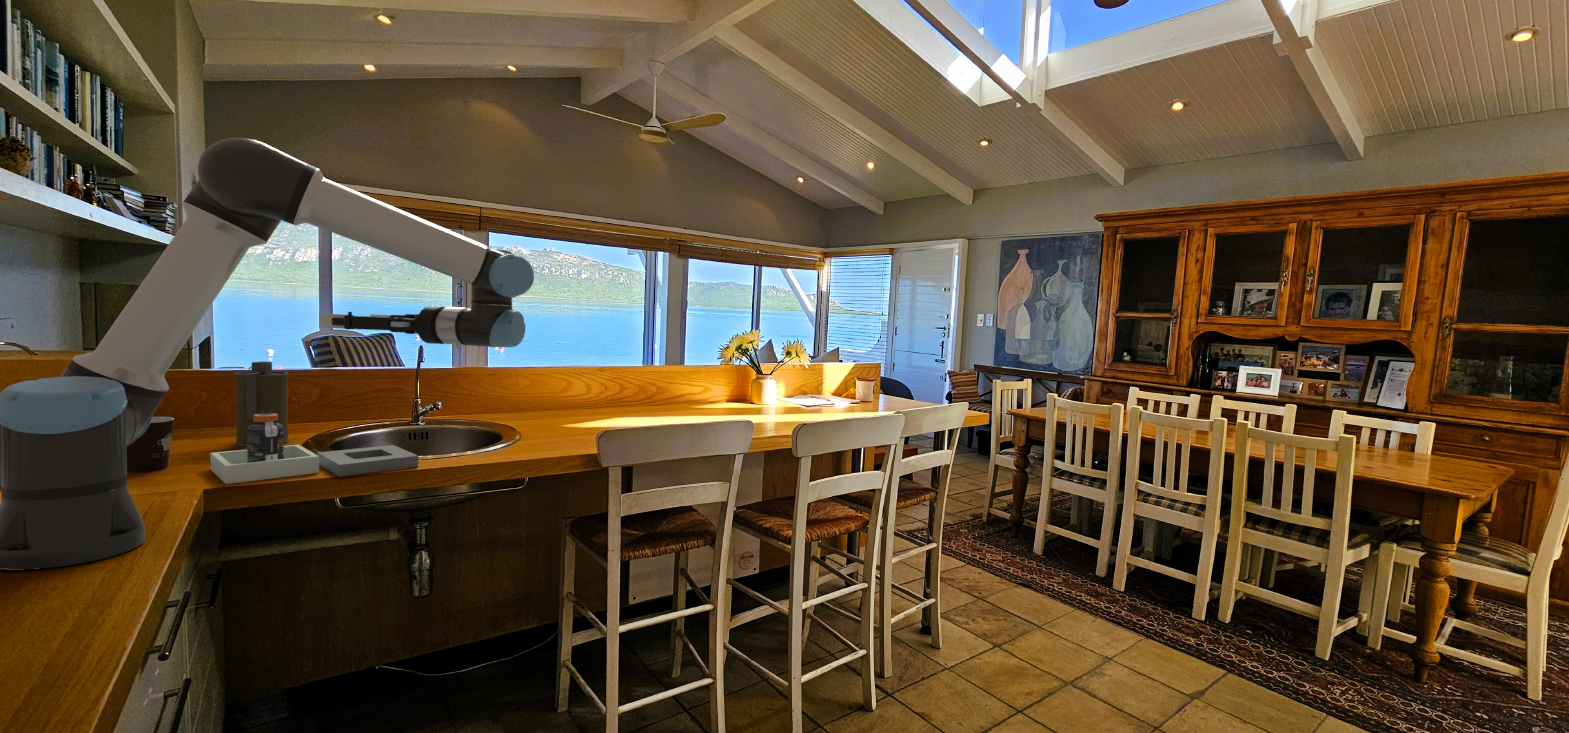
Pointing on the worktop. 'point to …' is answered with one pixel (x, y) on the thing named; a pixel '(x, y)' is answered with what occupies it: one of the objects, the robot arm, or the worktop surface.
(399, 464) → the socket block
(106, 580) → the worktop surface
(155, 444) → the coffee mug
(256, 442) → the pill bottle
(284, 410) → the canister
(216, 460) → the parts tray
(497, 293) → the robot arm
